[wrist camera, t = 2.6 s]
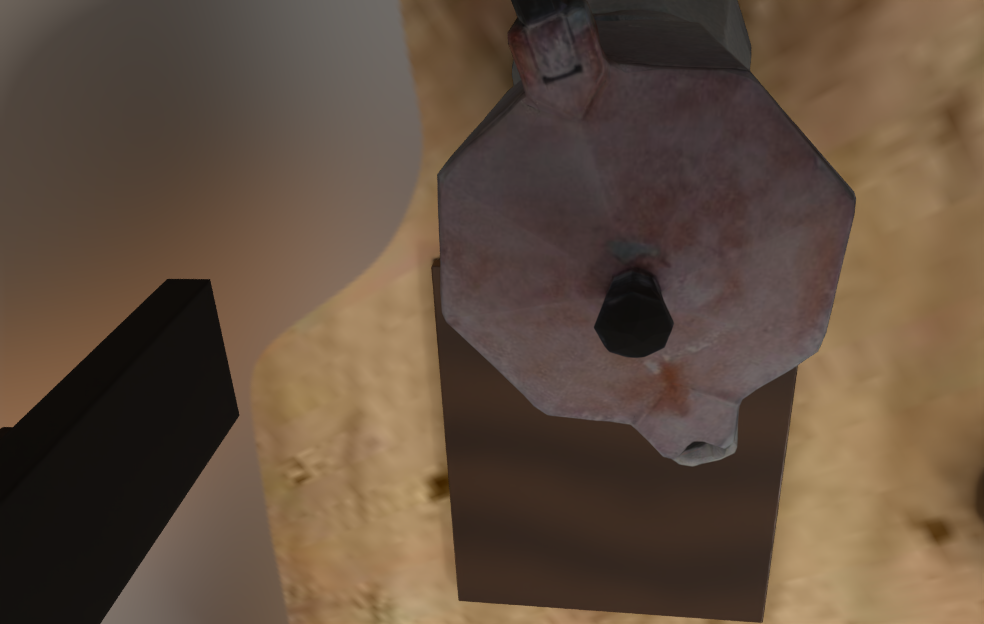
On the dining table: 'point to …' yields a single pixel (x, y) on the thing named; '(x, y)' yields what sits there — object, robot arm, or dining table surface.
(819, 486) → the dining table surface
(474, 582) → the walnut trivet
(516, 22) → the moka pot
